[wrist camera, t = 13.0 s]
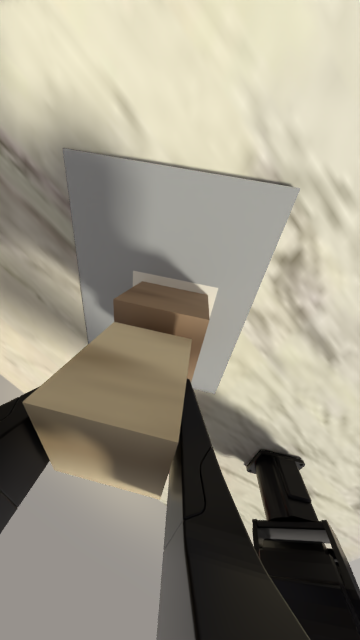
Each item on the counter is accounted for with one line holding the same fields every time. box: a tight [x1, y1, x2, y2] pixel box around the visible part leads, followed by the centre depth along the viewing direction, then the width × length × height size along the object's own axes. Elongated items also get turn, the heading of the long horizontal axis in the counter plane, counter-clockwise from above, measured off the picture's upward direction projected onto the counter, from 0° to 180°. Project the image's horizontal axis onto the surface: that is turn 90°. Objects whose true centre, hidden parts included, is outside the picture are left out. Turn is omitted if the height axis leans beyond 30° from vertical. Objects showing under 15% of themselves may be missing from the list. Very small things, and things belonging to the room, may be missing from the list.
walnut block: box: [113, 281, 210, 382], centre depth 13 cm, size 6×6×5 cm
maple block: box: [22, 322, 192, 500], centre depth 8 cm, size 4×4×5 cm
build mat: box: [63, 148, 300, 394], centre depth 15 cm, size 20×16×1 cm
